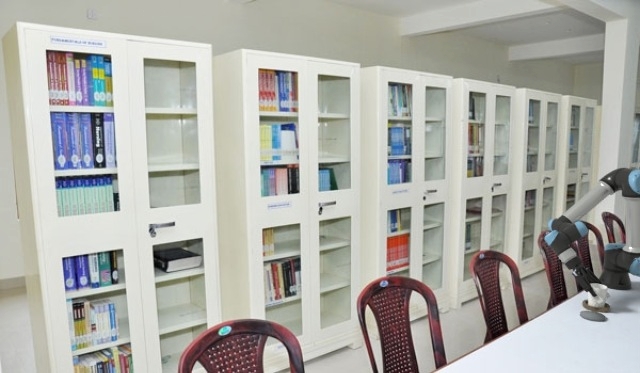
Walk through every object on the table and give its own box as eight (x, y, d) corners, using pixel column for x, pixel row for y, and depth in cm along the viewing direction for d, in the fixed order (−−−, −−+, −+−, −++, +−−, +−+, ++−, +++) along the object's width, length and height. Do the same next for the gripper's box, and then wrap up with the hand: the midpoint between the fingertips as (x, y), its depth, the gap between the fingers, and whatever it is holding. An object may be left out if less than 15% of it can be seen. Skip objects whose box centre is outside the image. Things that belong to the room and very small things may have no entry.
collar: (587, 301, 231) (588, 297, 231) (612, 308, 223) (613, 304, 223) (578, 307, 224) (579, 303, 224) (604, 314, 216) (604, 310, 216)
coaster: (584, 310, 220) (585, 308, 220) (608, 317, 212) (608, 315, 212) (576, 316, 213) (576, 314, 213) (600, 323, 206) (600, 321, 206)
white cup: (600, 303, 227) (602, 283, 226) (609, 309, 219) (610, 289, 218) (583, 302, 228) (585, 283, 226) (591, 309, 220) (592, 288, 219)
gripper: (573, 259, 239) (605, 298, 229) (555, 267, 226) (589, 309, 216) (585, 251, 235) (619, 290, 225) (568, 259, 221) (603, 301, 211)
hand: (604, 299), depth 220 cm, fingers closed on white cup, 8 cm apart
